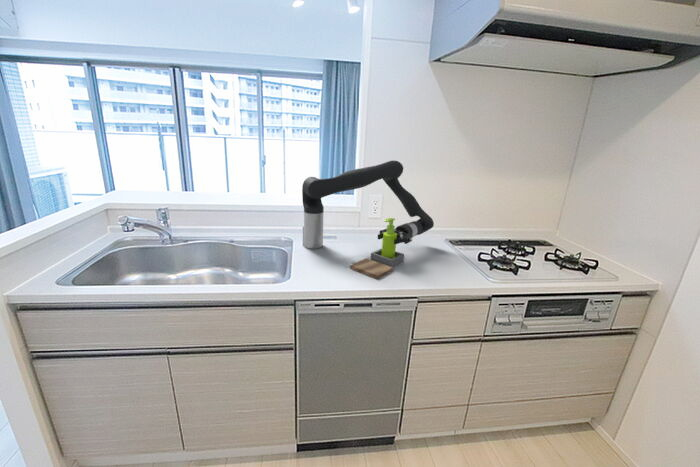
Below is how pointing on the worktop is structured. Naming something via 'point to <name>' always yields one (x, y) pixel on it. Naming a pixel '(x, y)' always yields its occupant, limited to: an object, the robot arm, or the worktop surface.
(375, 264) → the board
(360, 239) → the worktop surface
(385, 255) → the soap dispenser
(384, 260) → the tray
